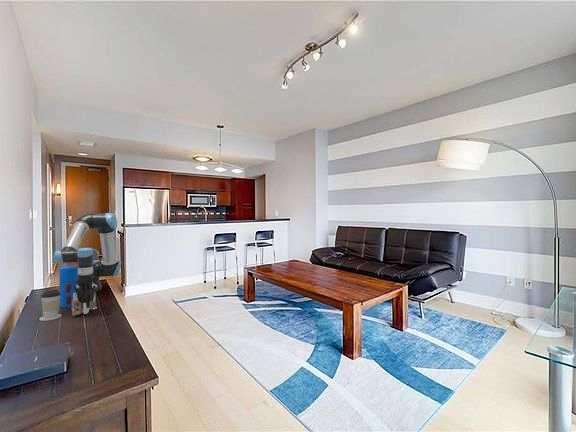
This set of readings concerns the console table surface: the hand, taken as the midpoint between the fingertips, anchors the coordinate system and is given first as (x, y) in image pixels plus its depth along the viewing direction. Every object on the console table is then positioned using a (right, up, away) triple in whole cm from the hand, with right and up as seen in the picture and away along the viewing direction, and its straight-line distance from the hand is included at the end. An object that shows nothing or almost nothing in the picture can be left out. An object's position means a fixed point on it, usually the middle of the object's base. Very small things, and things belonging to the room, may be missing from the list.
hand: (86, 313), depth 172 cm
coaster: (-18, -1, -4) cm, 19 cm away
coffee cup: (-18, -1, -4) cm, 19 cm away
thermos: (-24, -1, +19) cm, 31 cm away
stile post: (-16, -1, +12) cm, 20 cm away
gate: (-4, 0, +3) cm, 6 cm away
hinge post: (-4, -1, +12) cm, 12 cm away
